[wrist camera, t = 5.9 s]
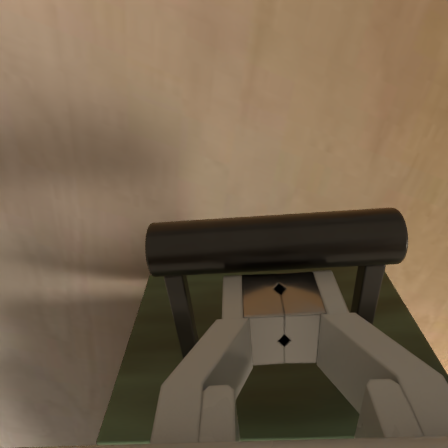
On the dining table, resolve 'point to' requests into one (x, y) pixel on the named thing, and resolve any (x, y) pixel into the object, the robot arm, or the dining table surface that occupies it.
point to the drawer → (212, 310)
